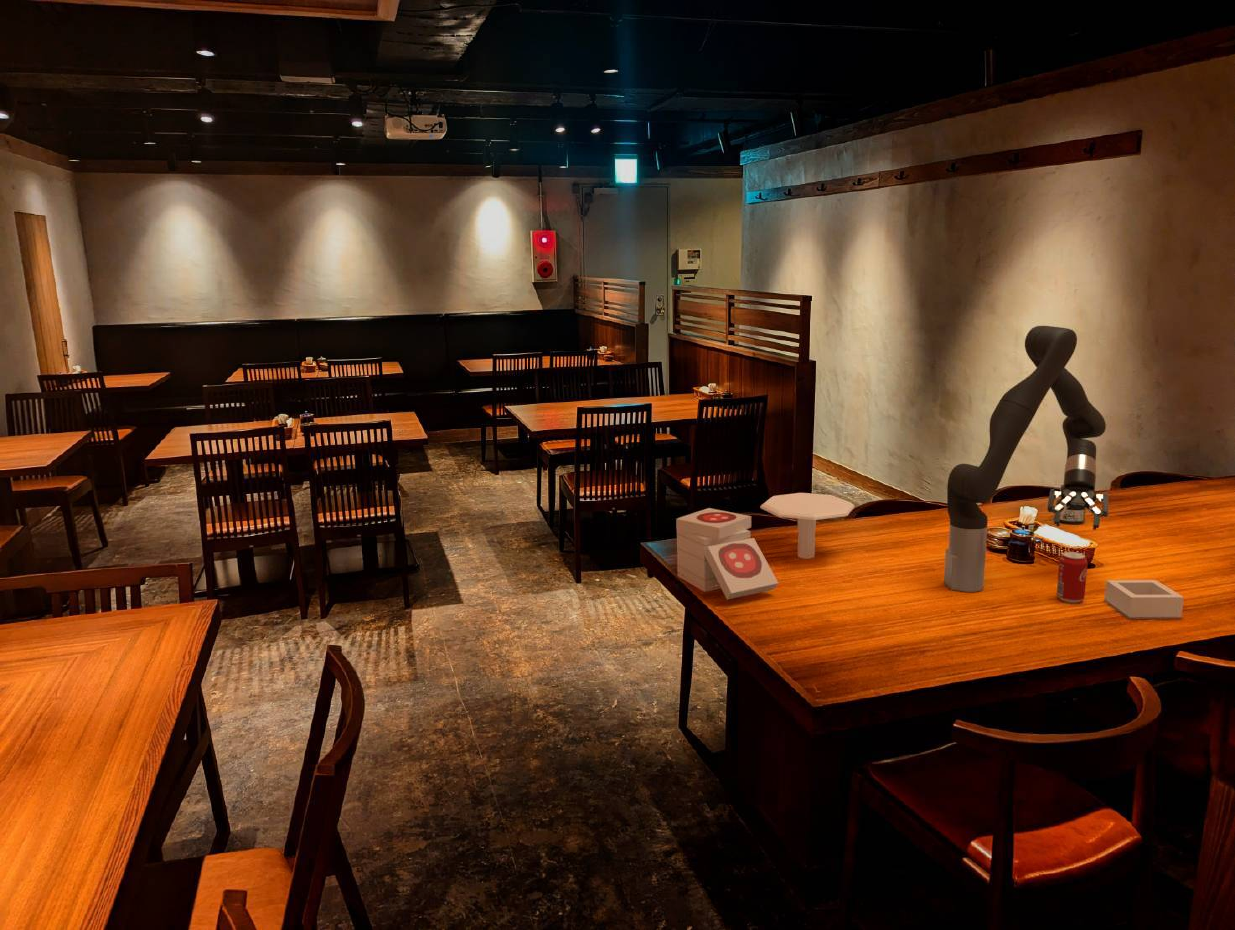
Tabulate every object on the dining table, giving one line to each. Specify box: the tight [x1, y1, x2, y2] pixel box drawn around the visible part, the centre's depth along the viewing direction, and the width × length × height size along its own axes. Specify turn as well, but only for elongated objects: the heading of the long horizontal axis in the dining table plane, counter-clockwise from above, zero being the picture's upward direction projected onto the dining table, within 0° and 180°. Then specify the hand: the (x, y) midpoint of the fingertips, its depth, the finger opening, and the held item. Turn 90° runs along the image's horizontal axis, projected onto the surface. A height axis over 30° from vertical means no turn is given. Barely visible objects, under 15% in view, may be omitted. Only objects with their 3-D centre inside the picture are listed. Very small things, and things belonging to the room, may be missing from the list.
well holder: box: [1104, 579, 1185, 620], centre depth 208 cm, size 12×12×6 cm
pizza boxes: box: [675, 507, 779, 601], centre depth 233 cm, size 19×30×18 cm, turn 26°
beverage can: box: [1056, 551, 1088, 604], centre depth 215 cm, size 6×6×12 cm
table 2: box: [760, 492, 855, 560], centre depth 255 cm, size 28×28×17 cm
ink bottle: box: [1055, 484, 1087, 525], centre depth 283 cm, size 10×9×12 cm
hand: (1076, 526), depth 223 cm, fingers open, 8 cm apart
